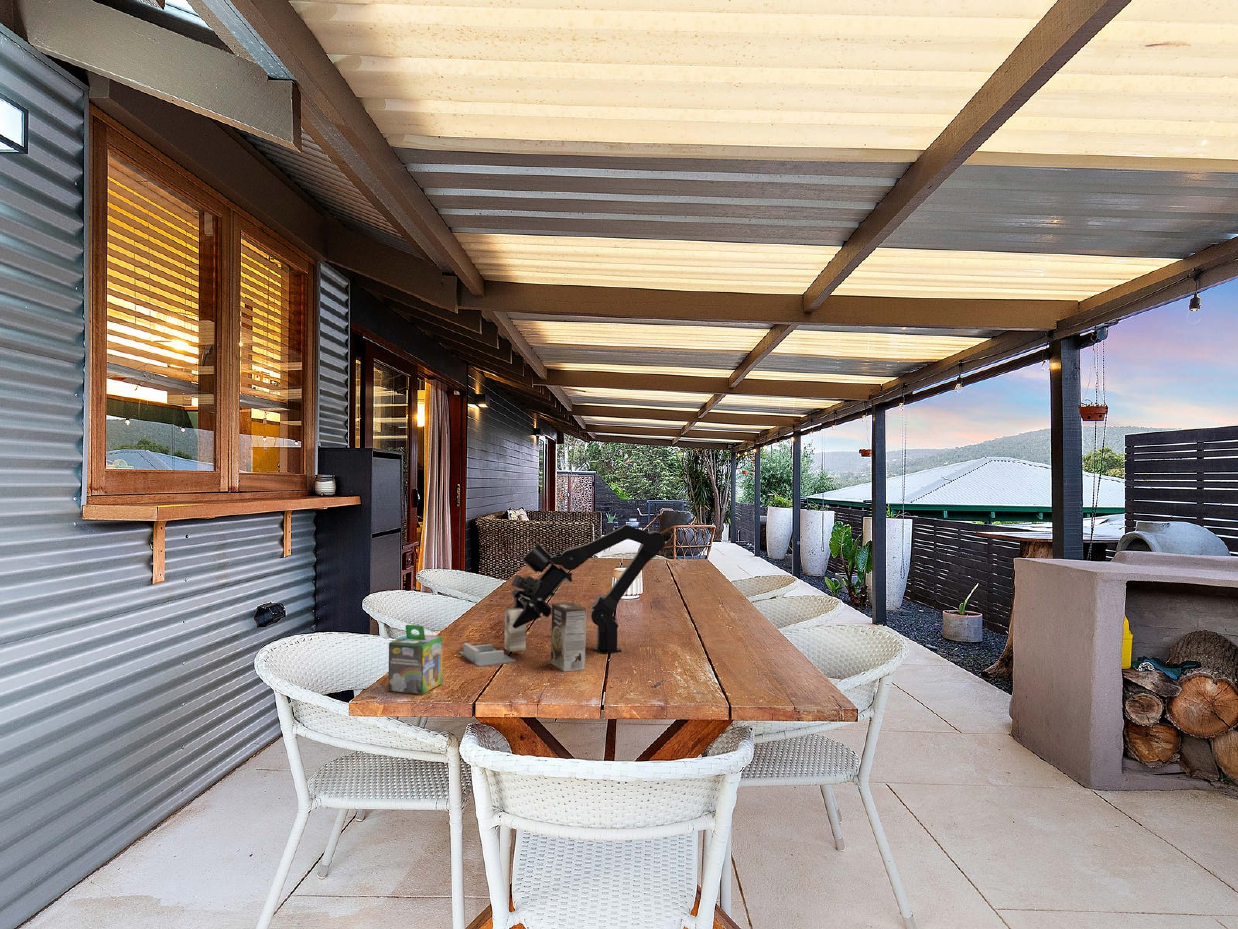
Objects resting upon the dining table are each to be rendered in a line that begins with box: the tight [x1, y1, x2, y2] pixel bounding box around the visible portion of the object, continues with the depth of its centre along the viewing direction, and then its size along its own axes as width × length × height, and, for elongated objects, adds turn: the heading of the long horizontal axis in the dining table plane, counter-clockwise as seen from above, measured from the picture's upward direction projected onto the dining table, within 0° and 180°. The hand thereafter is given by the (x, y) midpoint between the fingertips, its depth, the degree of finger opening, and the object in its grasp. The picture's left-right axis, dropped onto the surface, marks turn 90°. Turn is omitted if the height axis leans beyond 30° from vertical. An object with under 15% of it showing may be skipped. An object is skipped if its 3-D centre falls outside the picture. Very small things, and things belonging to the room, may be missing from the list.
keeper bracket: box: [459, 642, 516, 668], centre depth 187 cm, size 16×10×4 cm, turn 31°
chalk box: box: [388, 624, 443, 696], centre depth 158 cm, size 9×9×15 cm
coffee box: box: [550, 602, 587, 673], centre depth 179 cm, size 9×6×16 cm
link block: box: [504, 607, 527, 652], centre depth 191 cm, size 4×5×11 cm
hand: (510, 625), depth 190 cm, fingers closed on link block, 5 cm apart
